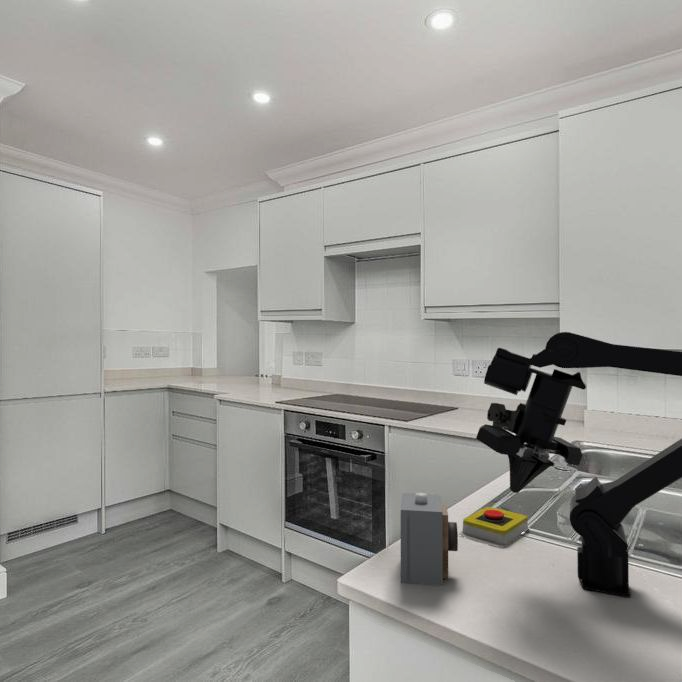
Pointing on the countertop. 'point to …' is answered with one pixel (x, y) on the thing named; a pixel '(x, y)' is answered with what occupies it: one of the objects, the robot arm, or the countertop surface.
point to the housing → (421, 539)
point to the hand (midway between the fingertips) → (513, 491)
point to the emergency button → (494, 526)
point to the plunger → (448, 539)
